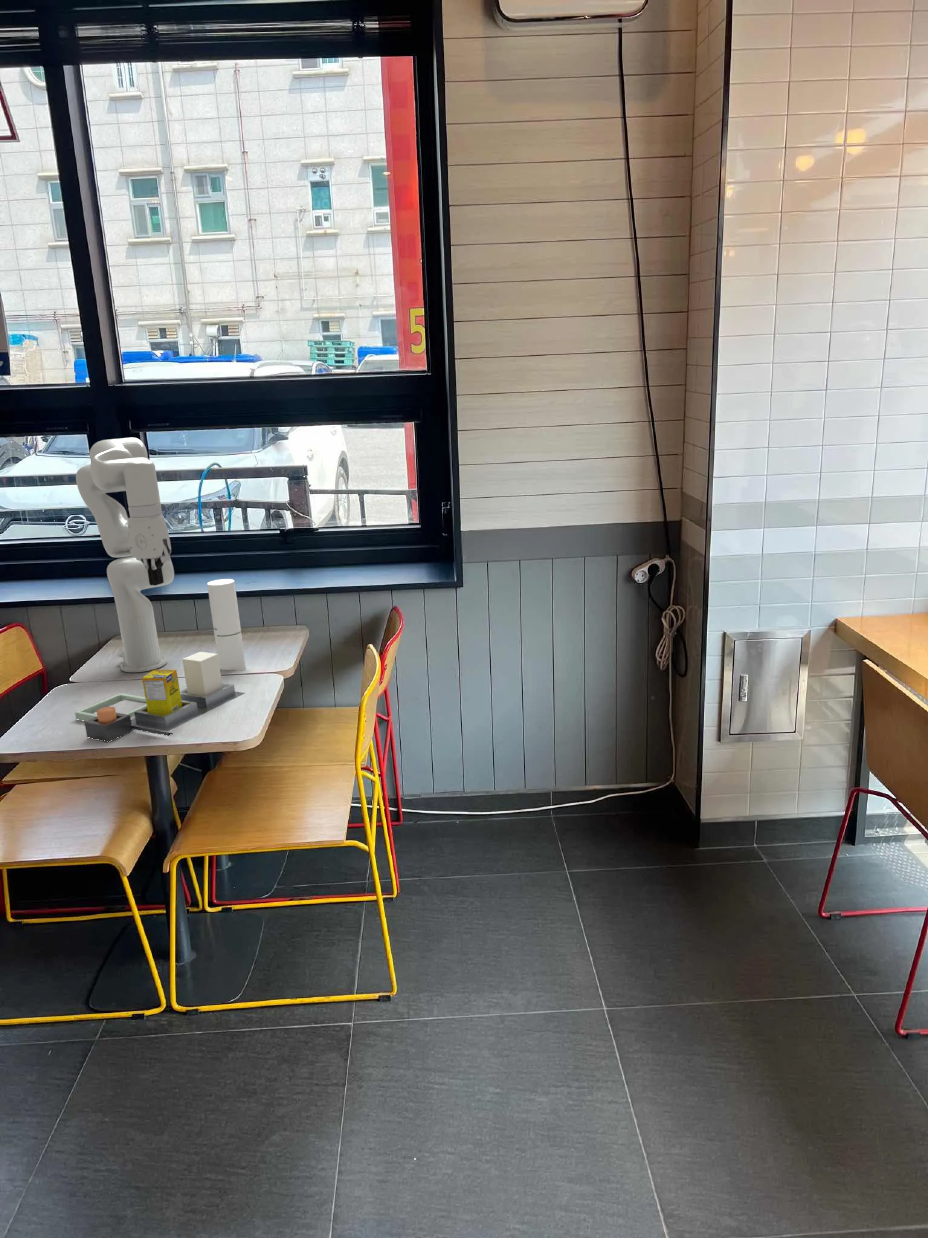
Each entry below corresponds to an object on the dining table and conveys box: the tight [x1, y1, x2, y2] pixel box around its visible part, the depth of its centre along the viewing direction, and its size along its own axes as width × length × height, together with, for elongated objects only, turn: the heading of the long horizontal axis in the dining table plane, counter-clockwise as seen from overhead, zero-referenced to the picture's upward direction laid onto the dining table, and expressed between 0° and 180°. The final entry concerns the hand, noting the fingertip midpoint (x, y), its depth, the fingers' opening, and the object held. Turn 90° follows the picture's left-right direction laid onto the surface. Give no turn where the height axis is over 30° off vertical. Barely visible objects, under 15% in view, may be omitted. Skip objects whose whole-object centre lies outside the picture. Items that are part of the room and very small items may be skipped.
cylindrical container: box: [206, 578, 247, 672], centre depth 245 cm, size 7×7×25 cm
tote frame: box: [74, 692, 147, 721], centre depth 220 cm, size 14×14×2 cm
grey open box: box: [131, 682, 246, 737], centre depth 218 cm, size 14×26×4 cm, turn 152°
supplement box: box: [141, 669, 182, 715], centre depth 211 cm, size 6×6×11 cm
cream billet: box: [182, 651, 223, 696], centre depth 222 cm, size 6×6×11 cm
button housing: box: [83, 712, 134, 743], centre depth 207 cm, size 7×7×4 cm
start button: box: [96, 706, 117, 723], centre depth 206 cm, size 4×4×4 cm
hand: (156, 584), depth 225 cm, fingers closed
